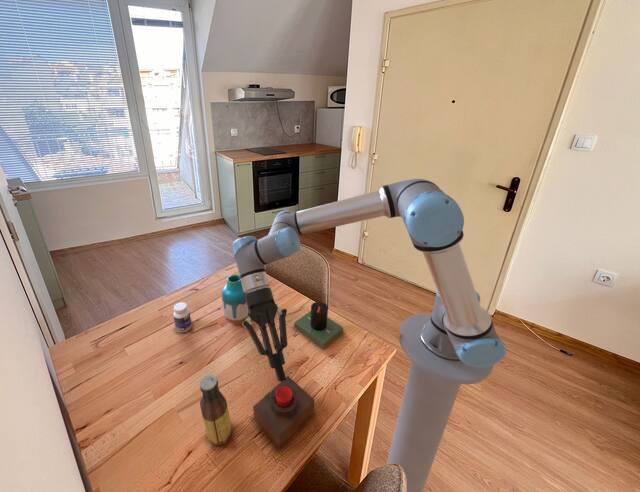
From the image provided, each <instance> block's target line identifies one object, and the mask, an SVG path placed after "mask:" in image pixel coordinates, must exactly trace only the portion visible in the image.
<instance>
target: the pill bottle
mask: <svg viewBox="0 0 640 492" xmlns="http://www.w3.org/2000/svg"><path fill="white" fill-rule="evenodd" d="M172 315H173V320H174V326H175V330H176V331H177V332H178V333H185V332H188V331H189V330H190V329H191V328H192V319H191V311H190V308H188V304H187V303H186V302H182V301H181V302H178V303H176V304H174V306H173V314H172Z"/></svg>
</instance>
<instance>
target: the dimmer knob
mask: <svg viewBox="0 0 640 492" xmlns="http://www.w3.org/2000/svg"><path fill="white" fill-rule="evenodd" d="M310 311H311V319H310V325H311V327H312V328H313V329H314V330H317V331H322V330H324V329H325V328H326V327H327V317H328V316H329V315H328V314H329V306H328V305H327V304H326V303H325V302H322V301H316V302H312V303H311V305H310Z"/></svg>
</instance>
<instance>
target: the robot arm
mask: <svg viewBox="0 0 640 492" xmlns="http://www.w3.org/2000/svg"><path fill="white" fill-rule="evenodd" d="M380 217H381V218H382V217H386V218H387V219H393V218H397V217H399V218H401V219H402V221H403V223H404V225H405V228H406V230H407V232H408V235H409V238H410V240H411V243H412V245H413V248H415V250H416V251H419V252H421V253H422V254H423V256H424V259H425V262H426V265H427V267H428V269H429V273H430V275H431V278H432V279H433V283H434V285H435V288H436V290H437V291H436V293H435V300H434V303H433V307H432V311H431V314H432V315H431V319H430V320H429V321H428V322H427V323H426V324H425V325H424V327H423V328H422V331H421V334H420V338H421V341H422V343H423V345H424V346H425V347H426V348H427V349H428V350H429V351H430V352H431V353H433V354H434V355H436V356H438V357H440V358H443V359H446V360H450V361H460V360H461V361H462V362H463V363H464V364H466V365H468V366H473V367H488V366H491V365H494V366H495V365H496V364H498V363H499V362H501V361H502V360H503V359H504V358H505V357H506V354H507V348H506V346H505V342H504V341H503V340H502V339H501V338H500V337H499V335H498V333H497V331H496V328H495V325H494V322H493V320H492V315H491V314H490V312H489V311H488V310H487V309H485V308H484V307H482V306H481V304H480V303H481V295H480V293H478V291H476V289H475V286H474V282H473V280H472V276H471V274H470V271H469V268H468V265H467V261H466V259H465V256H464V253H463V249H462V246H461V244H460V243H461V242H462V241H463V240H464V236H465V233H464V227H465V226H464V225H465V217H464V214H463V211H462V209H461V207H460V205H459V204H458V203H457V201H456V200H455V199H454V198H452V197H451V196H450V195H449V194H447V193H446V192H445V191H444V190H442V189H441V188H440V187H439V186H438V185H437V184H436V183H435V182H433V181H431V180H427V179H423V178H412V179H406V180H401V181H397V182H393V183H389V184H385V185H381V186H380V187H379V189H378V190H375V191H372V192H367V193H364V194H360V195H356V196H353V197H349V198H344V199H341V200H336V201H333V202H329V203H325V204H321V205H318V206H314V207H309V208H306V209H302V210H298V211H291V210H281V211H280V212H279V213H278V214H277V215H276V216H275V218H274V219H273V221H272V225H271V227H270V230H269V232H268V234H267V235H266V236H264V237H262V238H258V239H257V237H256V236H254V235H246V236H243V237H240V238H237V239H236V240H235V241H233V243H232V251H233V257H234V260H235V264H236V267H237V270H238V275H240V279H241V283H242V287H243V291H244V293H246V295H245V299H246V302H247V306H248V317H247V319H246V320H245V321H244V322H242V324H241V326H242V327H243V328H244V329H245V330H246V331H247V332H248V334H249V337H250V338H251V341H252V342H253V344H254V347H255V348H256V350H257V352H258V354H259V355H260V356H266V357H267V361H268V363H269V367H270V369H272V370H274V371H275V376H276V380H277V381H278V382H279V383H280V382H282V381H284V380H286V377H287V376H286V373H285V370H284V365H286V361H285V357H284V353H283V350H284V349H285V348H287V347H288V334H287V321H286V320H287V319H286V317H287V313H288V310H287V308H281V307H279V306H278V304H277V303H276V302H275V299H274V295H273V292H272V288H270V287H269V286H270V282H269V278H268V275H267V270H266V268H265V266H267V265H269V264H271V263H274V262H277V261H279V260H282V259H284V258H285V259H286V258H289V257H290V256H292V255H294V254H297V253H298V252H299V251H300V250H301V245H302V244H301V239H300V237H299V236H302V235H306V234H310V233H315V232H320V231H323V230H328V229H331V228H337V227H341V226H346V225H350V224H354V223H358V222H362V221H368V220H372V219H377V218H380ZM276 316H278V326H279V330H278V331H279V334H278V331H277V326H276V321H275V319H276ZM252 321H253V322H254V323H255V324H256V325H257V327H258V329H259V331H260V336H261V339H262V342H263V344H262V342H261V340H260V338H259V336H258V334H257V332H256V330H255V328H254V327H253V326H252V325H253V322H252ZM267 327H268V329H267ZM268 330H269V333H270V337H271V340H272V343H271V341H270V337H269V333H268ZM272 344H273V347H274V351H275V352H274V351H273V348H272Z"/></svg>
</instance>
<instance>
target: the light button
mask: <svg viewBox="0 0 640 492" xmlns="http://www.w3.org/2000/svg"><path fill="white" fill-rule="evenodd" d="M276 403H277V404H278V405H279V406H281V407H287V406H289V405H290V404H291V403H292V391H291V389H290V388H289V387H287V386H281V387H279V388H278V389H277V390H276Z"/></svg>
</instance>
